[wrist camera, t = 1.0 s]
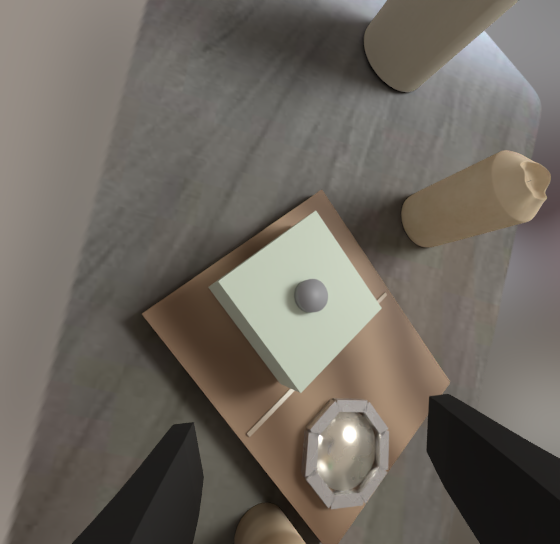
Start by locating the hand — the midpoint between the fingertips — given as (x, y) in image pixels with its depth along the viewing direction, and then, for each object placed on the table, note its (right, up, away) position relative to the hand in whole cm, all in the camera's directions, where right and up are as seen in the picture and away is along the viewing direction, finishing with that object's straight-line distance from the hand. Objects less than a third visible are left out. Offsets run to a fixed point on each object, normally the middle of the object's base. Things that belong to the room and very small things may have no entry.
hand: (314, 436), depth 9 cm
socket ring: (+4, -8, +13) cm, 15 cm away
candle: (+13, +10, +21) cm, 27 cm away
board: (+2, -1, +14) cm, 14 cm away
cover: (0, +3, +12) cm, 13 cm away
